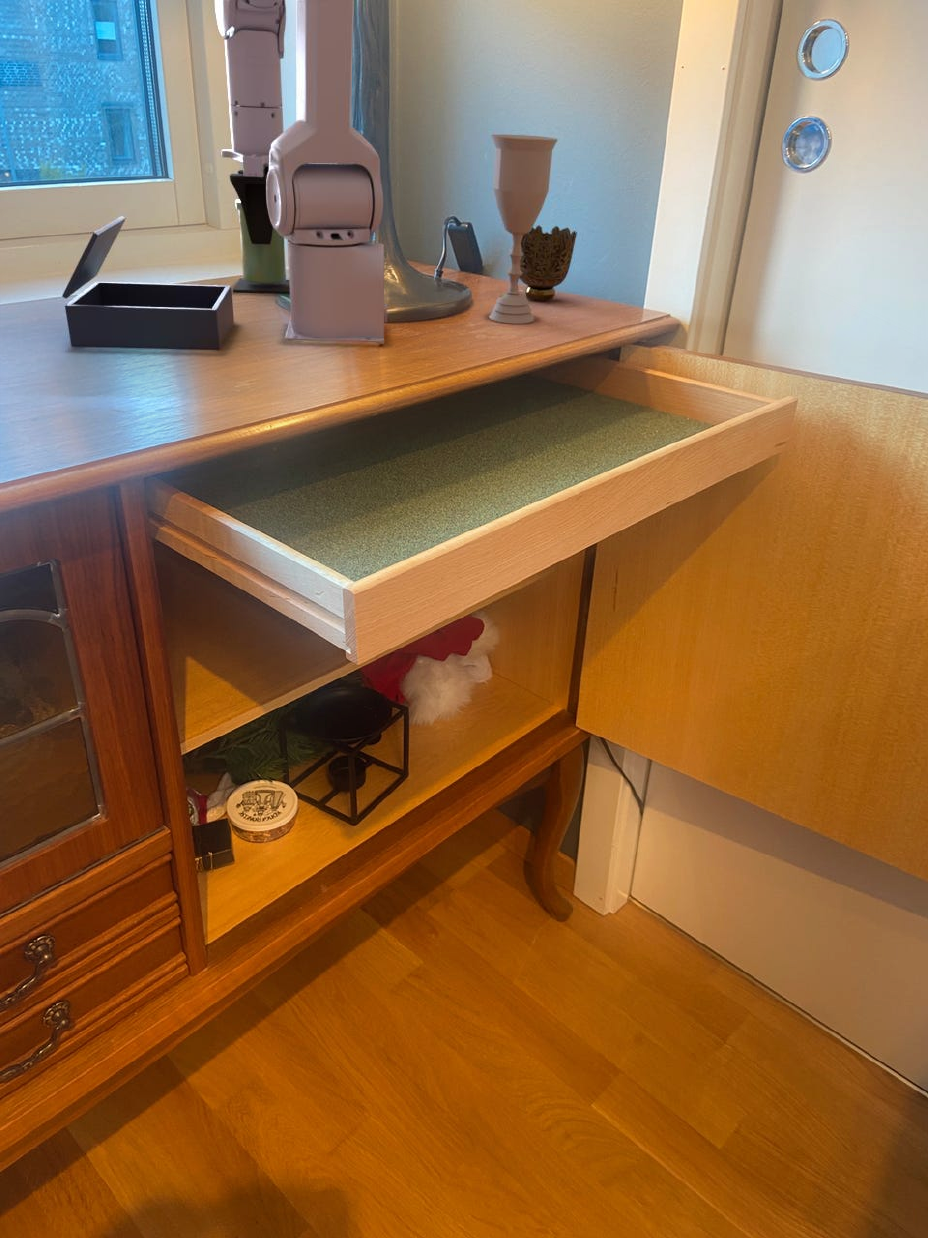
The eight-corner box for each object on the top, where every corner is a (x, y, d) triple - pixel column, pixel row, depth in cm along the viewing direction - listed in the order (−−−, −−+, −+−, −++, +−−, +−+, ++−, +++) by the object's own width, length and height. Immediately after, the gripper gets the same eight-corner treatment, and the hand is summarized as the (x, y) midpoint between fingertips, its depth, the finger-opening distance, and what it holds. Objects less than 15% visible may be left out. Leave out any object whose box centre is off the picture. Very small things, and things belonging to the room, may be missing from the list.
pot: (290, 275, 113) (286, 199, 108) (287, 284, 108) (283, 205, 104) (243, 273, 112) (238, 197, 108) (238, 282, 107) (232, 203, 103)
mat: (297, 284, 114) (297, 279, 114) (294, 295, 108) (293, 291, 108) (239, 282, 113) (239, 277, 113) (233, 293, 107) (232, 289, 107)
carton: (72, 351, 83) (64, 305, 81) (101, 323, 92) (95, 281, 90) (220, 355, 84) (216, 309, 82) (234, 326, 94) (231, 285, 92)
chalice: (543, 327, 100) (560, 140, 91) (481, 324, 100) (491, 137, 91) (539, 312, 106) (555, 136, 97) (481, 309, 106) (490, 133, 97)
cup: (505, 302, 110) (510, 230, 106) (512, 290, 117) (517, 222, 113) (567, 307, 110) (575, 235, 106) (571, 295, 116) (578, 227, 112)
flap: (66, 298, 81) (61, 296, 80) (96, 275, 90) (92, 273, 90) (98, 235, 78) (93, 232, 78) (126, 217, 88) (122, 215, 88)
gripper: (226, 102, 107) (235, 229, 114) (209, 106, 94) (220, 248, 101) (288, 105, 107) (294, 231, 114) (279, 110, 95) (285, 250, 102)
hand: (263, 239), depth 108 cm, fingers closed on pot, 5 cm apart
